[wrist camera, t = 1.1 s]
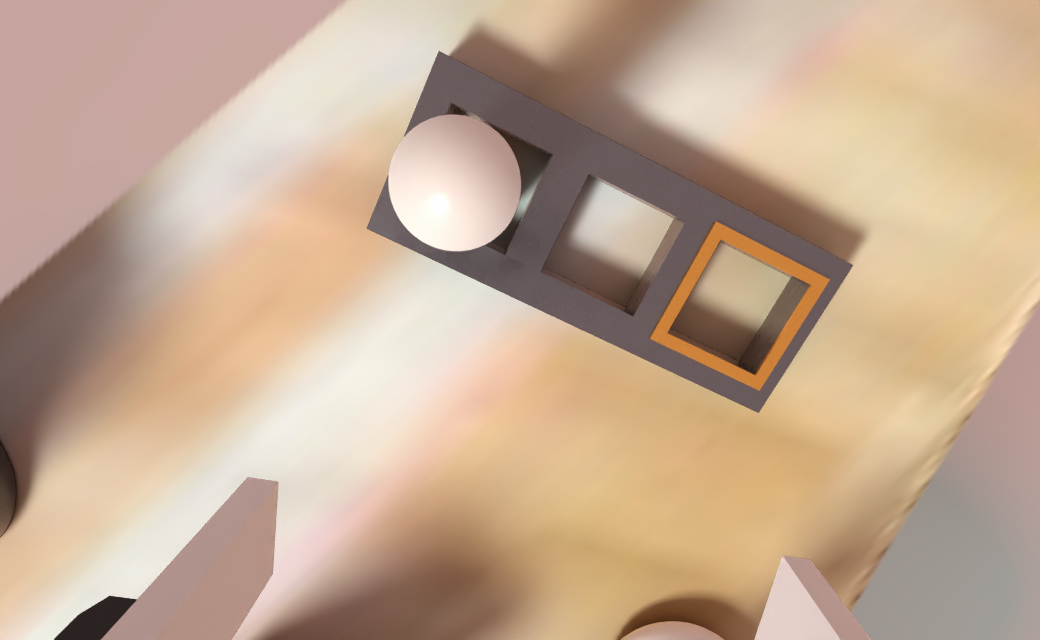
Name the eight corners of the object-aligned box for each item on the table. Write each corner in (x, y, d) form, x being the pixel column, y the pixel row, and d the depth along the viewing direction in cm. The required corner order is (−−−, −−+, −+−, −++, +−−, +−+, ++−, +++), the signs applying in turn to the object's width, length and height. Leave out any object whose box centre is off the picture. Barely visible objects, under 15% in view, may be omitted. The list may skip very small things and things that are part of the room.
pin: (430, 199, 35) (368, 216, 21) (462, 126, 34) (419, 89, 20) (500, 233, 36) (487, 272, 22) (533, 162, 35) (543, 152, 20)
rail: (376, 225, 36) (365, 228, 33) (444, 59, 33) (438, 50, 31) (743, 398, 39) (759, 414, 36) (831, 259, 36) (855, 265, 34)
